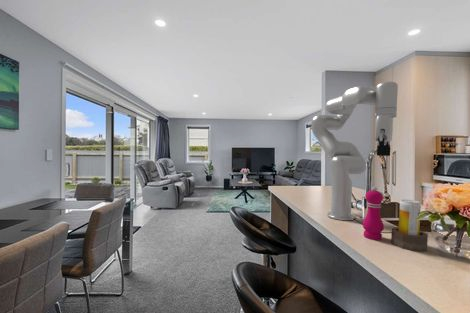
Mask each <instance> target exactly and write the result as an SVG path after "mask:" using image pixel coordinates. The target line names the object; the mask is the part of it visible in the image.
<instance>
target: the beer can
mask: <svg viewBox="0 0 470 313" xmlns="http://www.w3.org/2000/svg"><path fill="white" fill-rule="evenodd" d="M421 207H422V206H421V203H420V201H418V200H413V199H401V200H400V202H399V212H398V213H399V214H398V216H399V217H398V227H399V229H398V232H401V233H404V234H409V235H417V236H419V231H420V224H421V219H420V220H418V221H417V220H416V219H417V217H418V216H419V214H420V215H421V209H422V208H421Z"/></svg>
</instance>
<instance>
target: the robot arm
mask: <svg viewBox="0 0 470 313" xmlns="http://www.w3.org/2000/svg"><path fill="white" fill-rule="evenodd" d="M398 88H399V85H398V83H397V82H395V81H384V82H380V83H378V84H377V85H376V86H365V85H358V86H353V87H351V88H348V89H347V90H345V91H344V93H343V94H342V95H340V96H336V97H333V98H331V99H329V100H327V102H326V104H325V110H326V112H327V113H329V114H317V115H316V116H314V117H313V118H312V120H311V125H310V127H311V130H312V134H313V135H314V137H315V139H317V141H318V142H319V144H320V145H321V147H322V150H323V151H324V153H325V154H326V156H327V157H328V158H329V159H331V160H330V161H329V162H330V164H329V165H330V166H329V167H330V172H331V190H330V191H331V194H330V195H331V197H330V212H329V211H328V212H327V217H329V218H331V219H333V220H337V221H353V220H354V219H355V216H354V215H352V198H353V197H352V196H353V182H352V179H351V177H350V175H361V174H363V173H365V171H366V170H367V162H366V160H365V158H364V156H363V155H362V154H361V152H360V151H359V149H358V147H357V146H355V144H354V143H352V142H348V141H340V140H338V139H337V138H336V137H335V134H333V133H332V132H331V131H339V130H340V129H342V128H343V127H344V126H345V124H346V123H347V121H348V120H349V119H350V117H351V115H352V114H353V111H354V110H355V108H356V106H357V105H370V106H375V107H374V119H376V122H375V130H374V141H376V142H377V146H376V147H377V148H376V156H379V157H382V156H383V157H390V156H391V141H392V139H393V132H394V131H393V128H394V126H393V124H394V119H395V118H397V114H398V113H397V112H398V110H397V108H398V90H399V89H398ZM330 114H331V115H330Z"/></svg>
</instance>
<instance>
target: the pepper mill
mask: <svg viewBox="0 0 470 313" xmlns="http://www.w3.org/2000/svg"><path fill="white" fill-rule="evenodd" d="M364 197H365V200H366V201H367V202H366V207H367V212H366V215H365V217H364V219H363V221H362V228H363V230H364V231H363V237H364V238H365V239H369V240H372V241H373V240H374V241H381V240H382V239H383V234H382V232H383V231H384V222H383V220H382V218H381V215H380V213H381V212H380V209H381V208H382V201H384V196H383V194H382V192H380V191H378V187H376V186H372V187H371V190H368V191H367V192H366V194H365V196H364Z"/></svg>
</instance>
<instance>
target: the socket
mask: <svg viewBox="0 0 470 313" xmlns="http://www.w3.org/2000/svg"><path fill="white" fill-rule="evenodd" d="M398 229H399V226H393V227H392V228H391V236H390V237H391V241H390V243H391V244H392V245H393V246H395V247H399V248H401V249H403V250H408V251H413V252H425V251H428V238H429V234H428V233H427V232H425V231H423V230H419V236H417V235H409V234H404V233H401V232H398Z"/></svg>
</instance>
